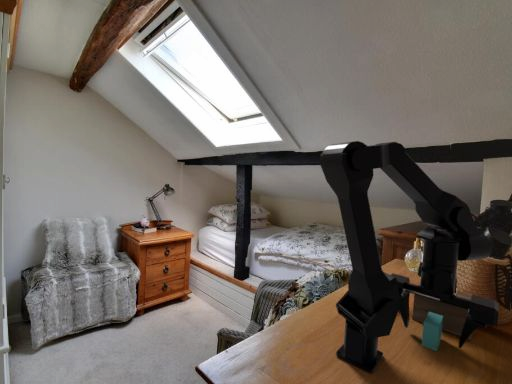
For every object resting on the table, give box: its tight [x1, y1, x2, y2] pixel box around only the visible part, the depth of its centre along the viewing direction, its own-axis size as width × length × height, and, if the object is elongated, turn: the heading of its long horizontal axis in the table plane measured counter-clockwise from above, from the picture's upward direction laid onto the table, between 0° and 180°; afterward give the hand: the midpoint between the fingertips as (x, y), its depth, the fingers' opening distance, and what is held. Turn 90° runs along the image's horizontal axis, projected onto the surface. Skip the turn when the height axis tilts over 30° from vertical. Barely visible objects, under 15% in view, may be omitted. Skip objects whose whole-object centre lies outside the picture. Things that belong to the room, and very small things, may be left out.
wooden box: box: [411, 283, 474, 341], centre depth 64 cm, size 11×11×7 cm
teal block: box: [421, 312, 443, 352], centre depth 55 cm, size 6×2×5 cm, turn 138°
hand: (431, 336), depth 55 cm, fingers open, 9 cm apart
